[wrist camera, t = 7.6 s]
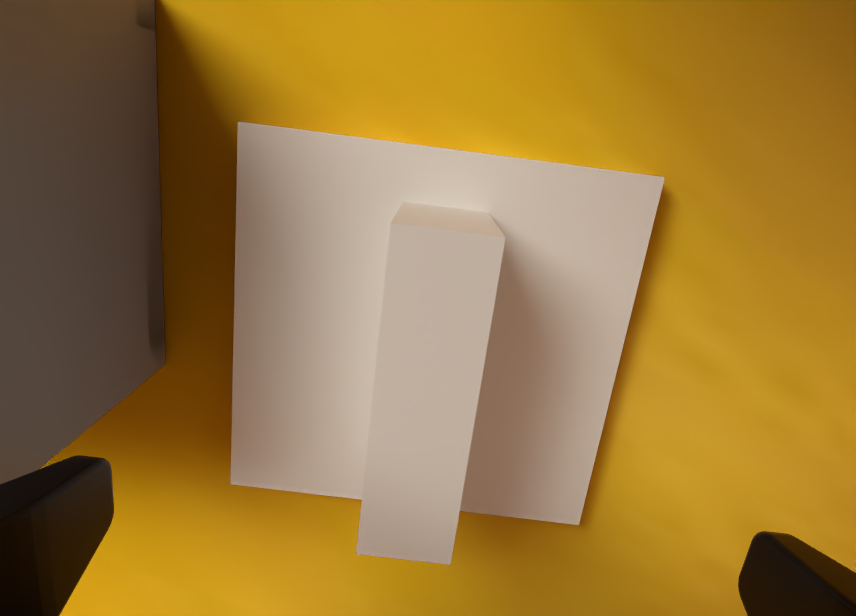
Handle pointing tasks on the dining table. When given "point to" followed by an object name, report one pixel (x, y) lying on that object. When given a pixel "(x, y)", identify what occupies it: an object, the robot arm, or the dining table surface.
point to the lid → (427, 328)
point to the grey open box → (76, 219)
